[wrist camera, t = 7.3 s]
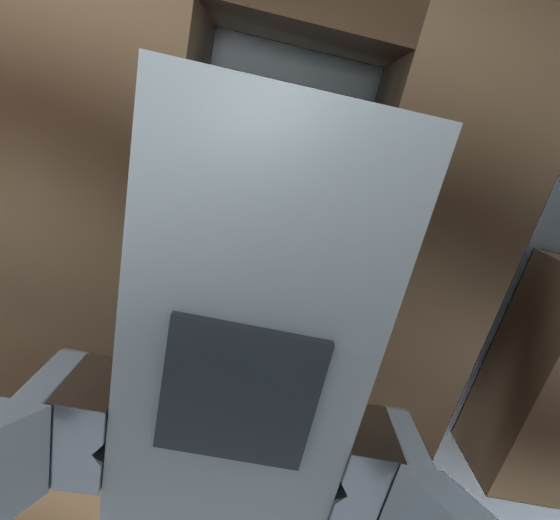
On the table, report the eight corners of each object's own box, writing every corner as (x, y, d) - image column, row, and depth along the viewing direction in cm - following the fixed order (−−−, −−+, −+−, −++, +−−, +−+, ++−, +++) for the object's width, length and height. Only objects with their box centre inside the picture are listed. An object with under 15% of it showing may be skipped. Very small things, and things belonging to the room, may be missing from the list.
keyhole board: (66, -158, 9) (-15, -265, 6) (569, -21, 9) (667, -71, 7) (41, 573, 16) (0, 649, 14) (322, 615, 17) (328, 694, 15)
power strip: (214, 89, 10) (134, 45, 4) (368, 124, 10) (468, 122, 5) (155, 500, 14) (78, 725, 9) (263, 516, 14) (252, 745, 9)
